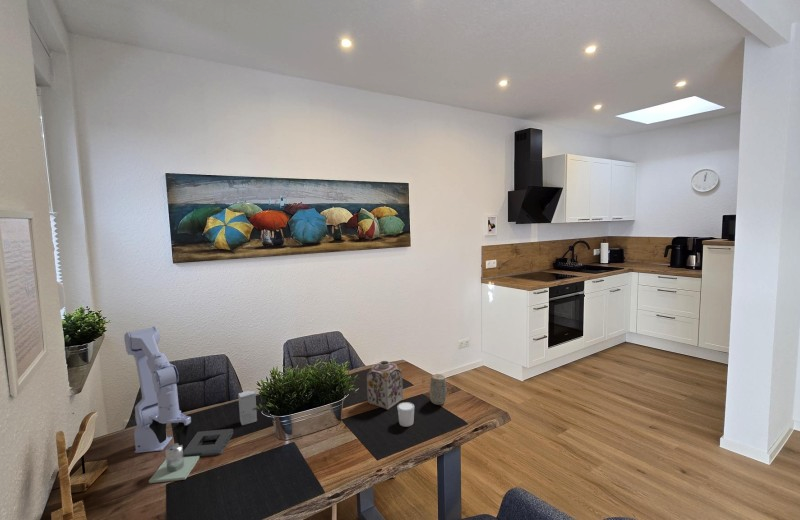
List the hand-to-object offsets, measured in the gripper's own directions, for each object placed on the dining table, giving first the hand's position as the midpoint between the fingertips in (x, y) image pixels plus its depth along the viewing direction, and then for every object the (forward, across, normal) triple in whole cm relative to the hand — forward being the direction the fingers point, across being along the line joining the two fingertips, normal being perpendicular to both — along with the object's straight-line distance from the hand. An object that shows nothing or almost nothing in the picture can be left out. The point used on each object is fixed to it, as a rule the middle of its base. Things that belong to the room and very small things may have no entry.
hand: (172, 442), depth 125 cm
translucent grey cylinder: (+9, 0, 0) cm, 9 cm away
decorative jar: (+10, -58, -57) cm, 82 cm away
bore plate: (+10, -2, -14) cm, 17 cm away
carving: (+10, -81, -59) cm, 101 cm away
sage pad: (+10, 0, 0) cm, 10 cm away
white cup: (+10, -71, -41) cm, 82 cm away
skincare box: (+10, -6, -32) cm, 34 cm away
